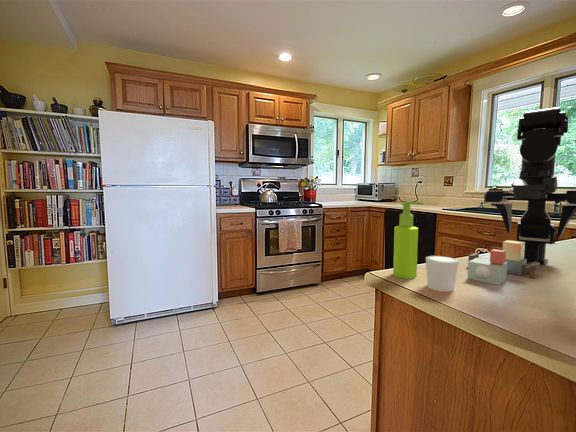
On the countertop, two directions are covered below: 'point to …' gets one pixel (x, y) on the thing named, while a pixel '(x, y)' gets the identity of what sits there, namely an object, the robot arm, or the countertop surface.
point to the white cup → (441, 272)
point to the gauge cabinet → (487, 271)
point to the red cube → (497, 256)
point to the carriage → (514, 256)
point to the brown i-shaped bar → (527, 270)
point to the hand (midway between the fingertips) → (532, 234)
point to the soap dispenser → (405, 244)
